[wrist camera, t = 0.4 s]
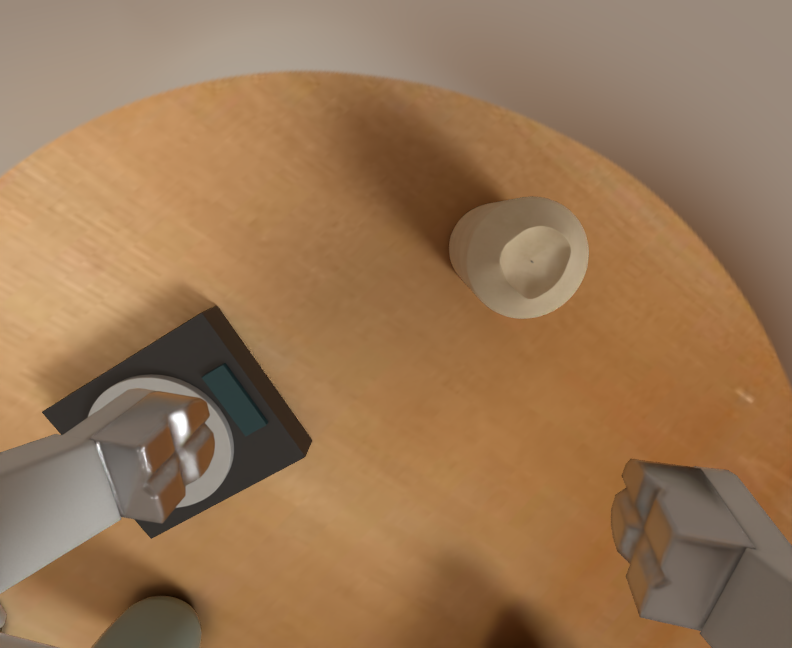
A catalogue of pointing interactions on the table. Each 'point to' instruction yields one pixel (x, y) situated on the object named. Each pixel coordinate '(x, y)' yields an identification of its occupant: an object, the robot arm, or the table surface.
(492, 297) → the candle
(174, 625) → the cup
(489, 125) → the table surface
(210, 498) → the scale
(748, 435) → the table surface
